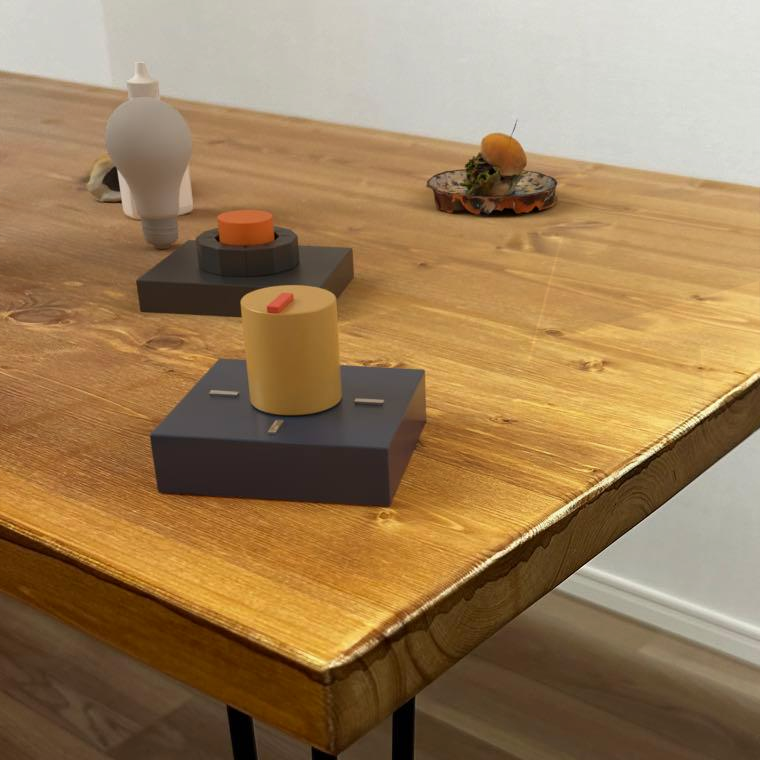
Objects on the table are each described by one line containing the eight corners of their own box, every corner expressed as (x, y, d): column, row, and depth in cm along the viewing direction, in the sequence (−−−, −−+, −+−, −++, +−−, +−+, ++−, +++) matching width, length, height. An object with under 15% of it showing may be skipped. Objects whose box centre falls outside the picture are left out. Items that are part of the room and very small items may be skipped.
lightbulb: (205, 236, 95) (188, 90, 89) (203, 258, 89) (185, 104, 84) (124, 239, 93) (103, 91, 88) (117, 261, 88) (94, 105, 83)
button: (212, 248, 79) (209, 221, 78) (229, 234, 82) (227, 208, 81) (266, 250, 79) (263, 224, 78) (281, 236, 82) (279, 211, 81)
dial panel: (157, 493, 56) (148, 430, 54) (224, 410, 64) (218, 354, 63) (390, 507, 55) (387, 445, 53) (426, 422, 64) (425, 366, 62)
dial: (268, 378, 60) (259, 275, 58) (352, 385, 60) (347, 282, 57) (236, 411, 56) (225, 303, 54) (326, 419, 56) (319, 310, 53)
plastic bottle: (193, 219, 99) (175, 66, 93) (122, 221, 98) (99, 66, 92) (194, 207, 103) (177, 58, 97) (126, 209, 102) (105, 58, 96)
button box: (140, 312, 78) (131, 252, 76) (191, 269, 87) (185, 214, 85) (320, 322, 77) (316, 261, 75) (354, 277, 86) (351, 222, 84)
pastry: (114, 178, 111) (108, 136, 110) (187, 180, 112) (183, 138, 110) (85, 202, 103) (78, 157, 101) (164, 204, 104) (159, 159, 102)
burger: (514, 181, 115) (515, 99, 111) (584, 208, 106) (587, 120, 102) (402, 194, 109) (399, 108, 105) (466, 223, 100) (465, 131, 97)
